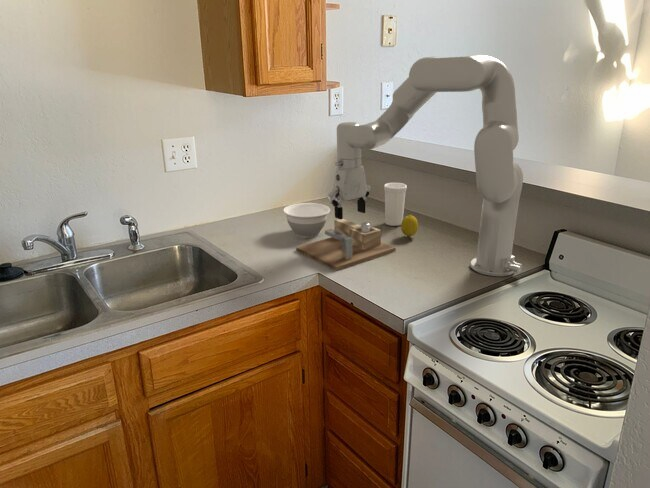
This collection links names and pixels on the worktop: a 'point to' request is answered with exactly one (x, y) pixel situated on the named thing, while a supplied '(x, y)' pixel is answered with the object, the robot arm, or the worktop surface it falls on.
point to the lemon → (409, 225)
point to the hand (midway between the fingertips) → (350, 215)
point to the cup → (394, 203)
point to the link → (358, 234)
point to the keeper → (345, 242)
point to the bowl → (306, 218)
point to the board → (332, 253)
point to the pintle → (365, 227)
